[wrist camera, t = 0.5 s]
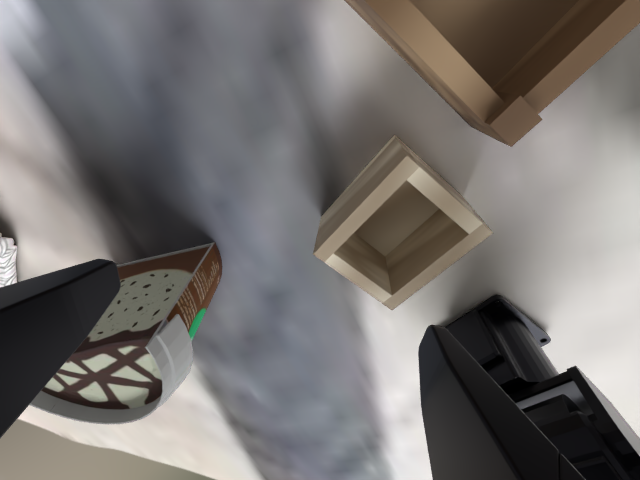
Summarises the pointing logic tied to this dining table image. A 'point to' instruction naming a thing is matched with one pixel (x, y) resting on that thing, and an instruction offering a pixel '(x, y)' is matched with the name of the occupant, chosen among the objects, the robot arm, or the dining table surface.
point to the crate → (500, 51)
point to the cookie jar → (7, 261)
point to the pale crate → (397, 226)
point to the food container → (137, 340)
